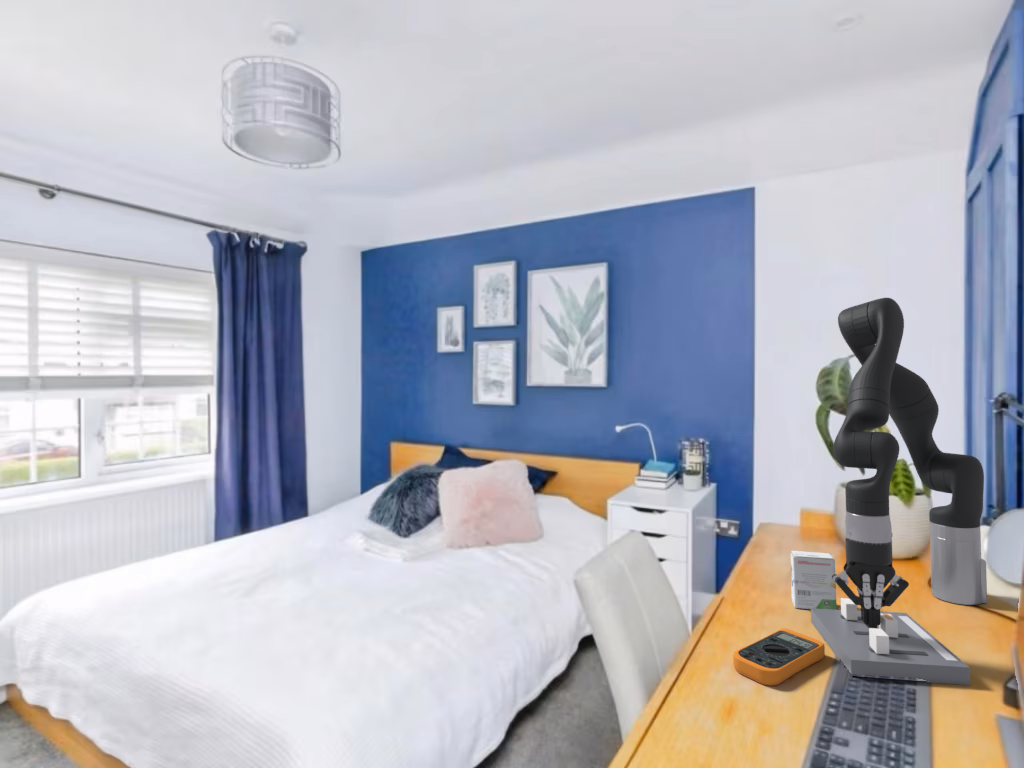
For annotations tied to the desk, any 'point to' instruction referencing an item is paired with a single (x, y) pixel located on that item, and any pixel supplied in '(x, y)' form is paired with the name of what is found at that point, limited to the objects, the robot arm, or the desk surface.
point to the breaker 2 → (879, 641)
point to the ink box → (813, 580)
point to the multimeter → (777, 656)
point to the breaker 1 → (848, 609)
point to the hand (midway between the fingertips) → (870, 626)
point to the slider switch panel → (890, 649)
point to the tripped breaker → (889, 625)
